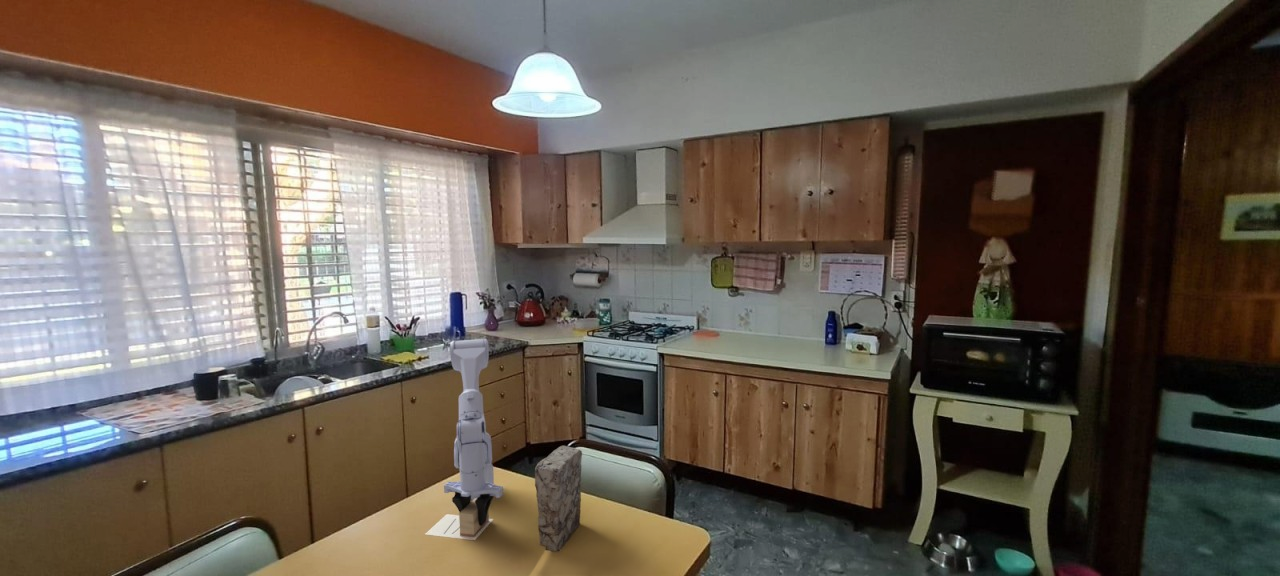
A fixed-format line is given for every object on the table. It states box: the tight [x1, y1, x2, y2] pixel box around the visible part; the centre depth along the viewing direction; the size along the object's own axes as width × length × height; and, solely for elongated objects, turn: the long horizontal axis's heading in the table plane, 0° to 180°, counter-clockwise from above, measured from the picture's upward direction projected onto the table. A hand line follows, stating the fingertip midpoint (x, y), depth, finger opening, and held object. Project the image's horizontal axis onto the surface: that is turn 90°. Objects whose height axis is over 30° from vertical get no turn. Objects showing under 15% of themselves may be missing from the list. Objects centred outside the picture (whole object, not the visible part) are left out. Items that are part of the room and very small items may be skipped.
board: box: [424, 513, 494, 541], centre depth 117 cm, size 9×13×1 cm
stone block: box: [534, 445, 583, 553], centre depth 114 cm, size 13×7×20 cm, turn 167°
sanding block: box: [458, 498, 490, 537], centre depth 116 cm, size 7×4×6 cm, turn 169°
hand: (474, 522), depth 116 cm, fingers closed on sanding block, 4 cm apart
